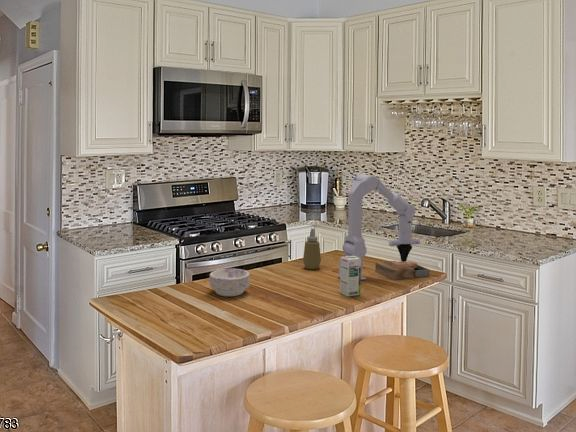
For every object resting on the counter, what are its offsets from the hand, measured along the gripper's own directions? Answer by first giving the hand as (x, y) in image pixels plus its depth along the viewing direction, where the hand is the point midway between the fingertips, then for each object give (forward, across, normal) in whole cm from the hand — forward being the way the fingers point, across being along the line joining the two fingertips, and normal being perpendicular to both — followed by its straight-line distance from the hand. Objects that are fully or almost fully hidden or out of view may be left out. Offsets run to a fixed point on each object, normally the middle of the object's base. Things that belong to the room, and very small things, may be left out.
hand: (403, 261), depth 253 cm
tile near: (+1, -6, -6) cm, 8 cm away
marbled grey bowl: (+5, -81, -6) cm, 81 cm away
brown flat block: (+5, -6, -3) cm, 9 cm away
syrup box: (+5, -38, -22) cm, 44 cm away
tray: (+5, +3, -3) cm, 6 cm away
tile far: (+2, +3, 0) cm, 3 cm away
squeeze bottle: (+5, -36, +18) cm, 41 cm away
